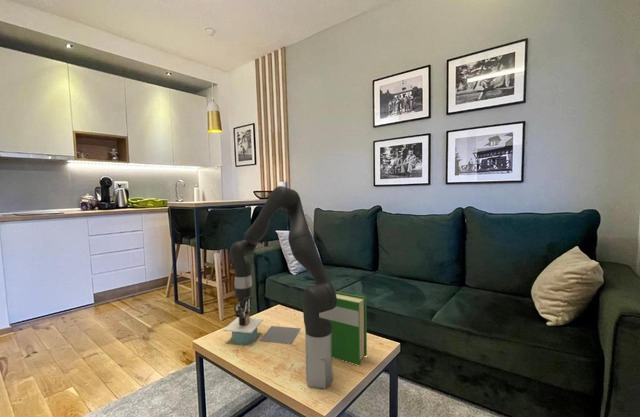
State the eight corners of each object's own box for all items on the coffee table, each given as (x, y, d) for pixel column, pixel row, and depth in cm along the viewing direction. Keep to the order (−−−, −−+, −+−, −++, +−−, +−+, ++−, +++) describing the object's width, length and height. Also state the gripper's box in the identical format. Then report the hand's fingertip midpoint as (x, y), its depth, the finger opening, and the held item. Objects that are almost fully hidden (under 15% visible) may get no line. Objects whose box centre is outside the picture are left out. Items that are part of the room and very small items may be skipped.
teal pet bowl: (250, 346, 124) (250, 333, 124) (227, 344, 126) (227, 331, 126) (261, 334, 135) (260, 322, 134) (239, 332, 137) (239, 320, 137)
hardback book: (366, 356, 115) (366, 297, 114) (358, 366, 109) (358, 303, 107) (328, 344, 124) (327, 289, 123) (319, 353, 118) (318, 295, 117)
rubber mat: (291, 345, 124) (291, 344, 124) (259, 342, 127) (259, 341, 127) (301, 329, 139) (300, 328, 139) (271, 326, 142) (271, 325, 142)
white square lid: (251, 333, 122) (251, 322, 122) (223, 330, 125) (223, 320, 125) (263, 320, 135) (263, 310, 135) (238, 318, 138) (237, 308, 137)
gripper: (243, 290, 122) (245, 331, 122) (257, 281, 135) (258, 317, 136) (227, 290, 123) (228, 329, 124) (242, 280, 137) (243, 316, 138)
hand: (244, 322), depth 130 cm, fingers closed on white square lid, 3 cm apart
